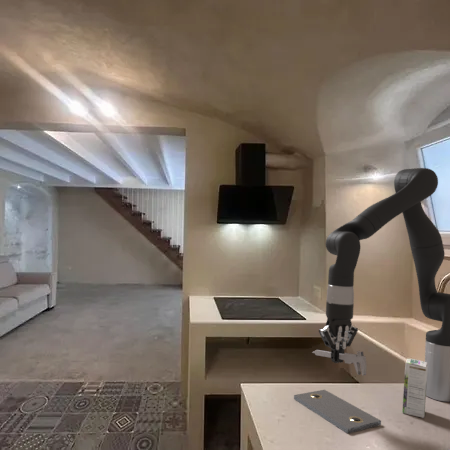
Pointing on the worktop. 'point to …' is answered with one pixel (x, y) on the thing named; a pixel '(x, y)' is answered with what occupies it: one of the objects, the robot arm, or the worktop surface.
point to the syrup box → (415, 387)
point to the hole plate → (337, 411)
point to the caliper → (349, 359)
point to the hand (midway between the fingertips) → (337, 361)
